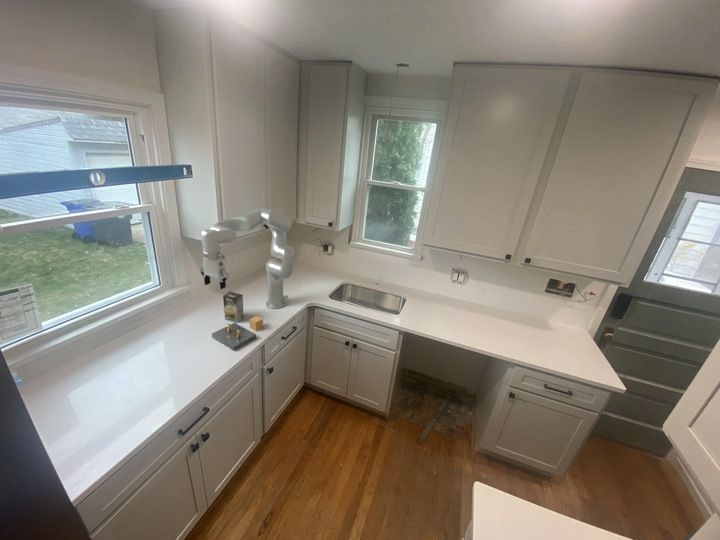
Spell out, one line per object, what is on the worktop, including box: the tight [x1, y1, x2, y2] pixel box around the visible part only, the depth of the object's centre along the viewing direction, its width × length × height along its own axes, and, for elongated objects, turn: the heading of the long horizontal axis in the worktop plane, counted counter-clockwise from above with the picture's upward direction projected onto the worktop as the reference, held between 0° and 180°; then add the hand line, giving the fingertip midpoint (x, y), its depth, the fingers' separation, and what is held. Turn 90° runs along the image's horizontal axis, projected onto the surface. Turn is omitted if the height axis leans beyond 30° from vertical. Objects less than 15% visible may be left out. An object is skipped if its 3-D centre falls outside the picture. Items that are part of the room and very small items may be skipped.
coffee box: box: [222, 291, 245, 324], centre depth 171 cm, size 9×6×16 cm
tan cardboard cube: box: [249, 315, 264, 332], centre depth 167 cm, size 5×5×6 cm
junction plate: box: [211, 322, 257, 351], centre depth 156 cm, size 14×18×6 cm
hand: (215, 286), depth 149 cm, fingers open, 9 cm apart
